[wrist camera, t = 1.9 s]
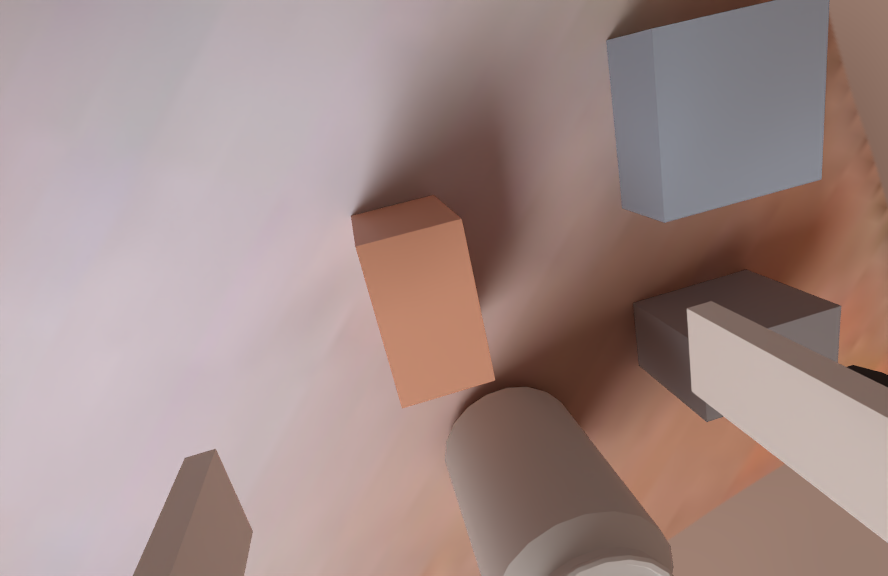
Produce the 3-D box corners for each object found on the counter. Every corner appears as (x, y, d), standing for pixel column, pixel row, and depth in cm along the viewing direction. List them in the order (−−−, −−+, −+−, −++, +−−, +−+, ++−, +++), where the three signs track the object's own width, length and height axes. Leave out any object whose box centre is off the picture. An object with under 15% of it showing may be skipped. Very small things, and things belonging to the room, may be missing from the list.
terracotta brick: (350, 215, 24) (355, 246, 19) (433, 194, 25) (461, 218, 19) (388, 346, 27) (402, 408, 21) (462, 325, 27) (495, 380, 22)
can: (485, 358, 28) (584, 521, 17) (591, 407, 30) (738, 578, 19) (417, 468, 29) (467, 685, 18) (523, 506, 32) (625, 720, 21)
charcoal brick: (638, 364, 30) (706, 421, 25) (632, 302, 29) (703, 348, 23) (746, 331, 31) (836, 379, 25) (745, 269, 30) (841, 305, 24)
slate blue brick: (603, 41, 24) (651, 28, 21) (756, 5, 25) (829, -13, 21) (619, 207, 27) (664, 222, 23) (757, 170, 28) (821, 179, 24)
